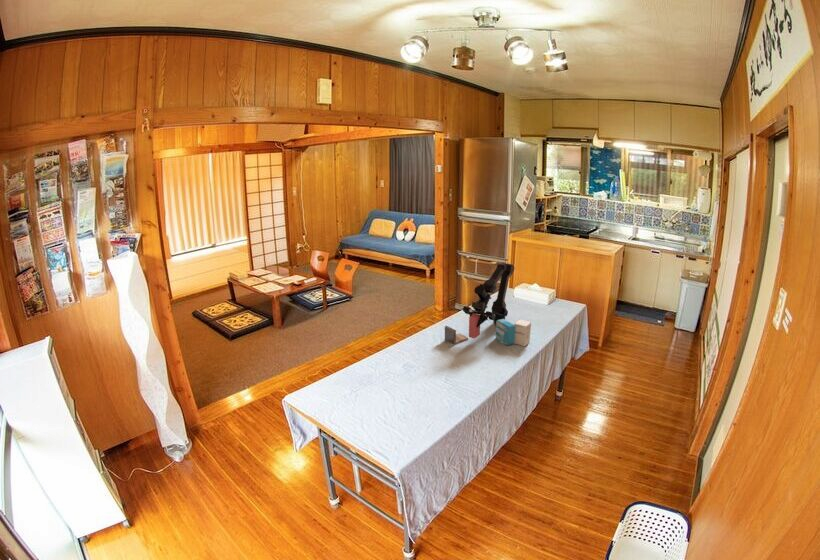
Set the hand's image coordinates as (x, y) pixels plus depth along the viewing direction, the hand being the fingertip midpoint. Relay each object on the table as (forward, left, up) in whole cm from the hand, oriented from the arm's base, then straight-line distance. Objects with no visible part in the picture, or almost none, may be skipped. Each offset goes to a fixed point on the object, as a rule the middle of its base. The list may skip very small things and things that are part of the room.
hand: (473, 326), depth 242 cm
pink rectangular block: (-1, -1, -7) cm, 7 cm away
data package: (-19, -1, -11) cm, 22 cm away
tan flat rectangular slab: (+7, -7, -11) cm, 15 cm away
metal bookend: (+13, -3, -11) cm, 17 cm away
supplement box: (-28, +2, -11) cm, 30 cm away
